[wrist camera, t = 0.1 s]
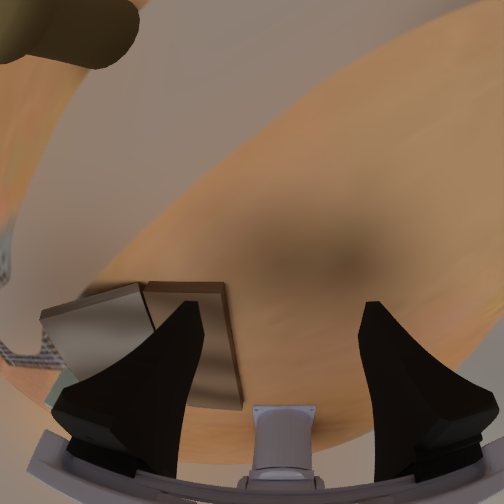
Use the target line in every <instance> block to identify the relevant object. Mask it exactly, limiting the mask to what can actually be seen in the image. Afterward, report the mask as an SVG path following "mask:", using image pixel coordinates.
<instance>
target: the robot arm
mask: <svg viewBox="0 0 504 504" xmlns="http://www.w3.org/2000/svg"><path fill="white" fill-rule="evenodd" d="M204 337H205V333H204V328H203V324H202V319H201V314H200V309H199V304H198V301H184V302H183V303H182V304H181V305H180V306H179V307H178V308H177V309H176V310H175V311H174V312H173V313H172V314H171V315H170V316H169V317H168V318H167V319H166V320H165V321H164V322H163V323H162V324H161V325H160V326H159V327H158V328H157V329H156V330H155V331H154V332H153V333H152V334H151V335H150V336H149V337H148V338H147V339H146V340H145V341H144V342H142V343H141V344H140V345H139V346H138V347H137V348H135V349H134V350H133V351H131V352H130V353H129V354H127V355H126V356H125V357H123V358H122V359H120V360H119V361H117V362H116V363H114V364H113V365H111V366H109V367H108V368H106V369H105V370H103V371H101V372H99V373H97V374H95V375H93V376H91V377H89V378H87V379H85V380H83V381H80V382H78V383H75V384H73V385H70V386H68V387H65V388H63V390H62V391H61V393H60V395H59V397H58V399H57V401H56V402H55V404H54V406H53V408H52V410H51V414H52V416H53V418H54V419H55V420H56V421H57V422H58V423H59V424H60V425H61V426H62V427H63V428H64V429H65V430H66V431H67V432H68V433H69V434H70V435H71V436H72V438H71V440H70V441H68V440H67V439H65V438H63V437H61V436H59V435H57V434H55V433H53V432H51V431H49V430H44V432H43V434H42V436H41V438H40V441H39V443H38V445H37V447H36V449H35V451H34V454H33V456H32V458H31V460H30V463H29V465H28V467H27V470H26V471H27V473H28V474H30V475H31V476H33V477H34V478H36V479H37V480H39V481H41V482H42V483H44V484H46V485H47V486H49V487H51V488H52V489H54V490H56V491H58V492H59V493H61V494H63V495H65V496H67V497H69V498H71V499H72V500H74V501H76V502H79V503H81V504H197V503H196V502H193V501H189V500H194V501H200V502H206V503H213V504H355V503H358V504H479V503H482V502H483V501H485V500H487V499H489V498H491V497H493V496H495V495H497V494H498V493H500V492H502V491H503V490H504V437H501V438H499V439H497V440H495V441H493V442H491V443H488V444H487V445H485V446H483V447H482V448H481V446H480V443H479V442H481V441H482V439H483V438H482V435H481V432H482V431H483V430H484V429H486V427H488V426H489V425H490V424H491V423H492V422H493V421H494V419H495V418H496V417H497V415H498V413H499V407H498V405H497V402H496V400H495V398H494V395H493V393H492V392H490V391H488V390H486V389H484V388H482V387H479V386H477V385H475V384H473V383H471V382H469V381H468V380H466V379H464V378H463V377H461V376H459V375H458V374H456V373H455V372H453V371H452V370H450V369H449V368H447V367H446V366H444V365H443V364H442V363H441V362H439V361H438V360H437V359H435V358H434V357H433V356H432V355H431V354H429V353H428V352H427V351H426V350H425V349H424V348H423V347H422V346H421V345H420V344H419V343H417V342H416V341H415V340H414V339H413V338H412V337H411V336H410V335H409V334H408V332H407V331H406V330H405V329H404V328H403V327H402V326H401V325H400V324H399V323H398V322H397V321H396V319H395V318H394V317H393V316H392V315H391V314H390V313H389V312H388V310H387V309H386V308H385V307H384V306H383V305H382V304H381V303H380V302H379V301H374V302H366V305H365V309H364V313H363V317H362V321H361V325H360V329H359V333H358V341H359V349H360V356H361V360H362V364H363V368H364V372H365V376H366V380H367V384H368V388H369V392H370V396H371V401H372V408H373V418H374V432H375V473H374V483H369V484H363V485H356V486H348V487H340V488H330V489H325V485H324V481H323V480H322V479H321V478H320V477H319V476H314V470H312V457H311V456H312V450H311V429H312V424H313V420H314V416H315V411H316V405H253V407H252V409H253V415H254V422H255V429H256V436H255V446H254V456H253V466H252V470H250V471H249V476H244V477H243V478H242V479H240V480H239V482H238V484H237V488H230V487H221V486H213V485H206V484H200V483H193V482H188V481H183V480H178V479H176V474H177V462H178V452H179V443H180V436H181V429H182V423H183V417H184V412H185V407H186V402H187V398H188V394H189V391H190V388H191V385H192V382H193V379H194V376H195V373H196V370H197V367H198V363H199V360H200V357H201V353H202V348H203V343H204ZM182 498H184V499H182ZM186 499H189V500H186Z"/></svg>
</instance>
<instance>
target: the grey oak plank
mask: <svg viewBox="0 0 504 504" xmlns="http://www.w3.org/2000/svg"><path fill="white" fill-rule="evenodd" d="M39 320H40V322H41V324H42V326H43V327H44V329H45V331H46V333H47V334H48V336H49V338H50V339H51V341H52V342H53V344H54V346H55V347H56V349H57V350H58V352H59V353H60V355H61V357H62V358H63V360H64V361H65V363H66V364H67V365H68V367H69V368H70V370H71V371H72V373H73V374H74V375H75V377H76V378H77V380H78V381H79V382H80V381H83V380H85V379H87V378H89V377H91V376H93V375H95V374H97V373H99V372H101V371H103V370H105V369H106V368H108V367H109V366H111V365H113V364H114V363H116V362H117V361H119V360H120V359H122V358H123V357H125V356H126V355H127V354H129V353H130V352H131V351H133V350H134V349H135V348H137V347H138V346H139V345H140V344H141V343H142V342H144V341H145V340H146V339H147V338H148V337H149V336H150V335H151V334H152V333H153V332H154V331H155V330H154V327H153V325H152V322H151V319H150V316H149V314H148V311H147V308H146V305H145V302H144V299H143V297H142V294H141V291H140V288H139V285H138V283H134V284H131V285H127V286H124V287H120V288H117V289H113V290H110V291H106V292H103V293H100V294H96V295H93V296H89V297H86V298H82V299H79V300H75V301H72V302H68V303H65V304H62V305H58V306H54V307H51V308H48V309H44V310H42V311H41V316H40V319H39Z"/></svg>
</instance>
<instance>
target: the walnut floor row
mask: <svg viewBox="0 0 504 504" xmlns="http://www.w3.org/2000/svg"><path fill="white" fill-rule="evenodd" d="M143 294H144V297H145V300H146V303H147V306H148V309H149V312H150V315H151V317H152V320H153V323H154V326H155V328H156V329H157V328H158V327H159V326H160V325H161V324H162V323H163V322H164V321H165V320H166V319H167V318H168V317H169V316H170V315H171V314H172V313H173V312H174V311H175V310H176V309H177V308H178V307H179V306H180V305H181V304H182V303H183V302H184V301H198V304H199V309H200V314H201V319H202V324H203V328H204V333H205V337H204V343H203V348H202V353H201V357H200V360H199V363H198V367H197V370H196V373H195V376H194V379H193V382H192V385H191V388H190V391H189V394H188V398H187V404H188V406H192V407H201V408H211V409H223V410H237V411H242V408H243V395H242V390H241V384H240V379H239V373H238V367H237V362H236V356H235V350H234V344H233V338H232V332H231V326H230V319H229V313H228V307H227V300H226V294H225V287H224V282H152V281H149V282H148V284H147V285H146V287H145V289H144V290H143Z"/></svg>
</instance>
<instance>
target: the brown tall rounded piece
mask: <svg viewBox="0 0 504 504" xmlns="http://www.w3.org/2000/svg"><path fill="white" fill-rule="evenodd" d="M139 21H140V18H139V14H138V10H137V8H136V7H135V6H134V5H133V3H132V2H130V1H128V0H0V64H7V63H10V62H13V61H15V60H17V59H19V58H21V57H24V56H25V55H26V54H27V55H33V56H38V57H43V58H48V59H52V60H57V61H61V62H65V63H69V64H73V65H77V66H81V67H85V68H89V69H95V70H96V69H100V68H106V67H108V66H109V65H112V64H113V63H115V62H117V61H118V60H119V59H120V58H121V57H122V56H123V55H125V54H126V52H127V51H128V50H129V48H130V47H131V45H132V44H133V43H134V41H135V38H136V36H137V33H138V31H139Z"/></svg>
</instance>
